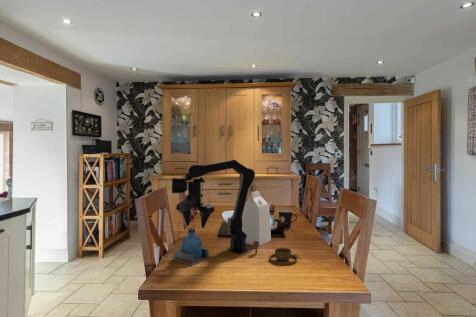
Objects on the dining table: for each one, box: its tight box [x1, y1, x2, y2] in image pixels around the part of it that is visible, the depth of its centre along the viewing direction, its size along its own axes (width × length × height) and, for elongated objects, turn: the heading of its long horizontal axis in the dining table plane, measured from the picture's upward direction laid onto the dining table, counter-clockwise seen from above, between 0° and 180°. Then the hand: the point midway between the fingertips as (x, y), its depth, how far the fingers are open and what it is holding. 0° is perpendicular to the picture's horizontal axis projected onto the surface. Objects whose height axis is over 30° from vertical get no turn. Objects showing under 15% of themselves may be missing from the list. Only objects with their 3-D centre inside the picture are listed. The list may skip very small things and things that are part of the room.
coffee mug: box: [278, 209, 298, 229], centre depth 192 cm, size 12×9×10 cm
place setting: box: [253, 241, 303, 266], centre depth 136 cm, size 18×20×6 cm
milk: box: [242, 190, 272, 247], centre depth 161 cm, size 12×12×26 cm
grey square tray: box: [171, 247, 212, 267], centre depth 135 cm, size 12×12×4 cm
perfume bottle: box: [181, 227, 203, 259], centre depth 135 cm, size 6×6×12 cm
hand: (195, 226), depth 140 cm, fingers open, 9 cm apart
